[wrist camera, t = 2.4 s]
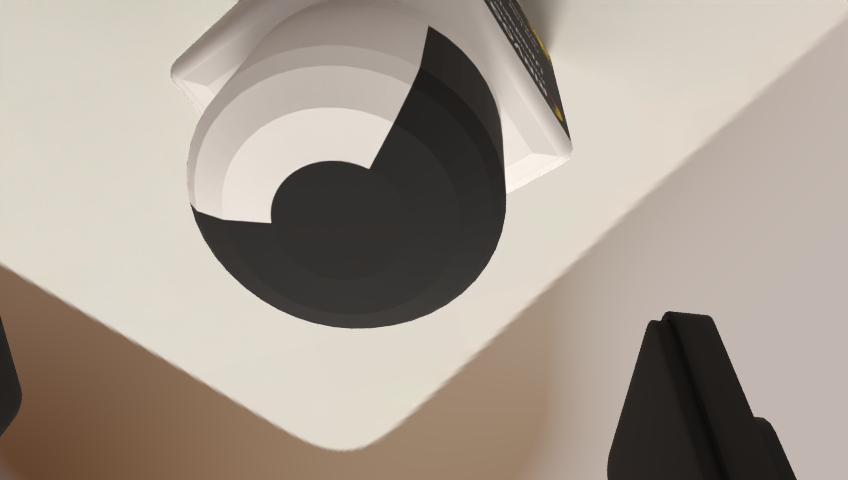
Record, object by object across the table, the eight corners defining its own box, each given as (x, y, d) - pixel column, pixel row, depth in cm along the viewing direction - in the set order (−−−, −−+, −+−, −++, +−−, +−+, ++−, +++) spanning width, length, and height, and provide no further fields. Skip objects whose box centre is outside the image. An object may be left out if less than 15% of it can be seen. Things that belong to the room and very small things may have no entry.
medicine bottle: (554, 62, 24) (609, 276, 14) (375, 169, 26) (309, 418, 16) (430, -146, 21) (383, -70, 11) (242, -4, 23) (57, 167, 13)
